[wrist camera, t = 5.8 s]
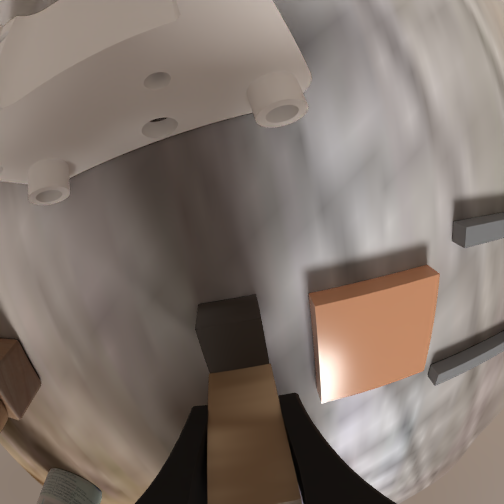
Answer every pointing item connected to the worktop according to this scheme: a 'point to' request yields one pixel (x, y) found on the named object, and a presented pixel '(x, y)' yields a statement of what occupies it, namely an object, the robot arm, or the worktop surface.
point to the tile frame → (467, 236)
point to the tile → (372, 331)
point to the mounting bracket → (136, 80)
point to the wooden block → (15, 381)
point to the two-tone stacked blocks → (243, 409)
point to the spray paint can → (68, 489)
